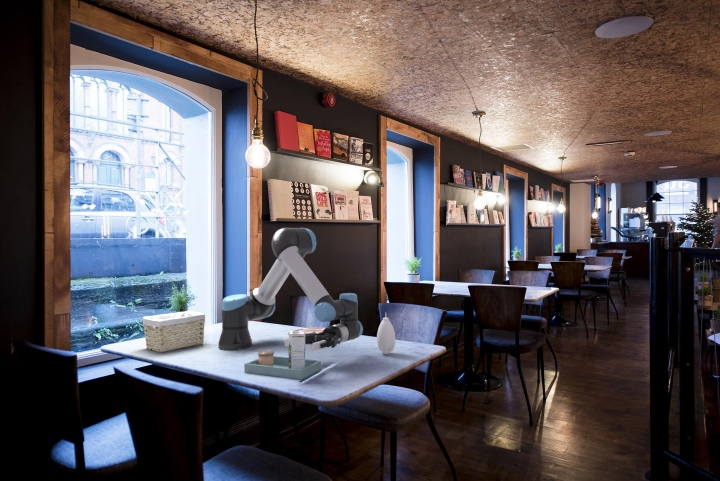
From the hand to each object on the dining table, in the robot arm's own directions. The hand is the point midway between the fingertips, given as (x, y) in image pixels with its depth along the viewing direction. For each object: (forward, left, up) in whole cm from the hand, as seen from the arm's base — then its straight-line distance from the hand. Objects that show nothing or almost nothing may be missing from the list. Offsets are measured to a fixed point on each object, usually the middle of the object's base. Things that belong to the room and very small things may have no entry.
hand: (298, 345), depth 172 cm
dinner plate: (-26, +58, -11) cm, 64 cm away
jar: (-14, -1, -10) cm, 17 cm away
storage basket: (-78, +18, -11) cm, 81 cm away
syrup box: (0, -1, -10) cm, 10 cm away
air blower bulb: (+19, +40, -11) cm, 45 cm away
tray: (-6, -1, -11) cm, 12 cm away
